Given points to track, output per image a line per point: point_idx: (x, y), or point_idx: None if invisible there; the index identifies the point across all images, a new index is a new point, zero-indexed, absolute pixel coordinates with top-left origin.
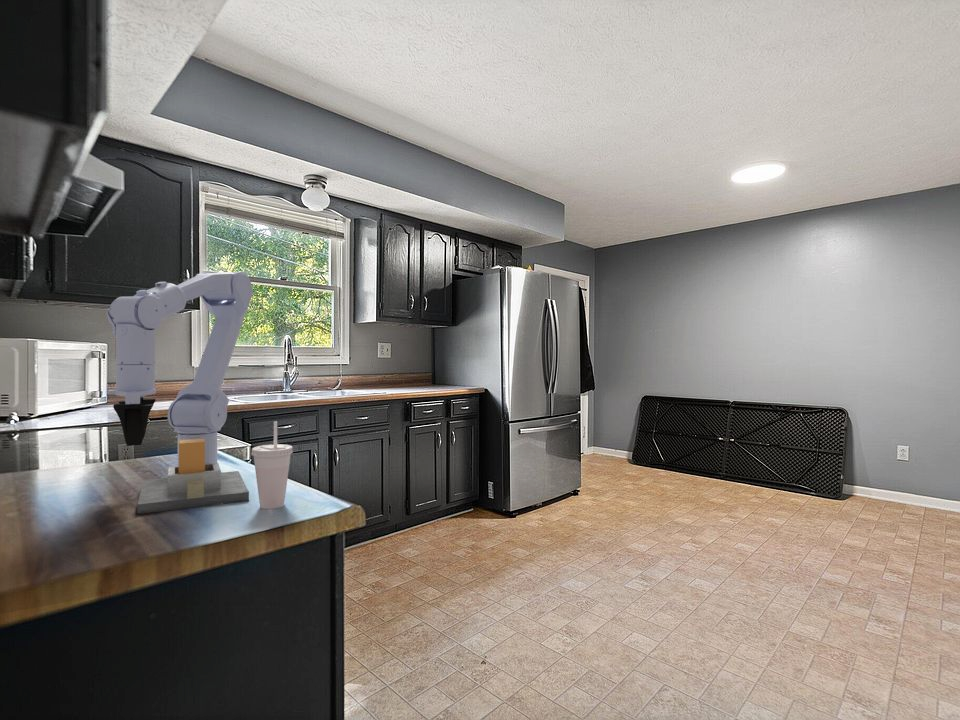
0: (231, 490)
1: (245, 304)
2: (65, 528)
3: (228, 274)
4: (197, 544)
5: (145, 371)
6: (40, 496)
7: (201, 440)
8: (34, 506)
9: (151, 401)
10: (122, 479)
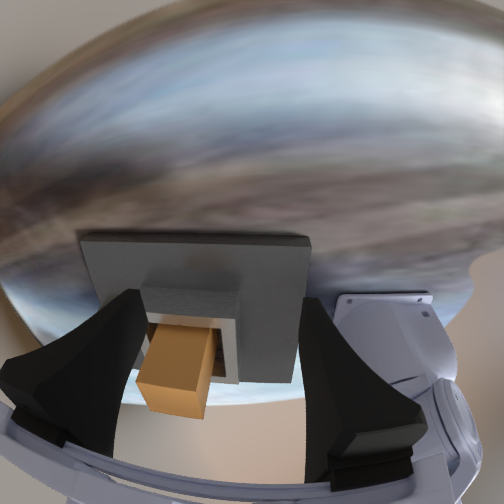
0: (139, 356)
1: None
2: (46, 140)
3: None
4: (3, 286)
5: None
6: (344, 25)
7: (172, 412)
8: (232, 25)
9: (306, 482)
10: (434, 194)
